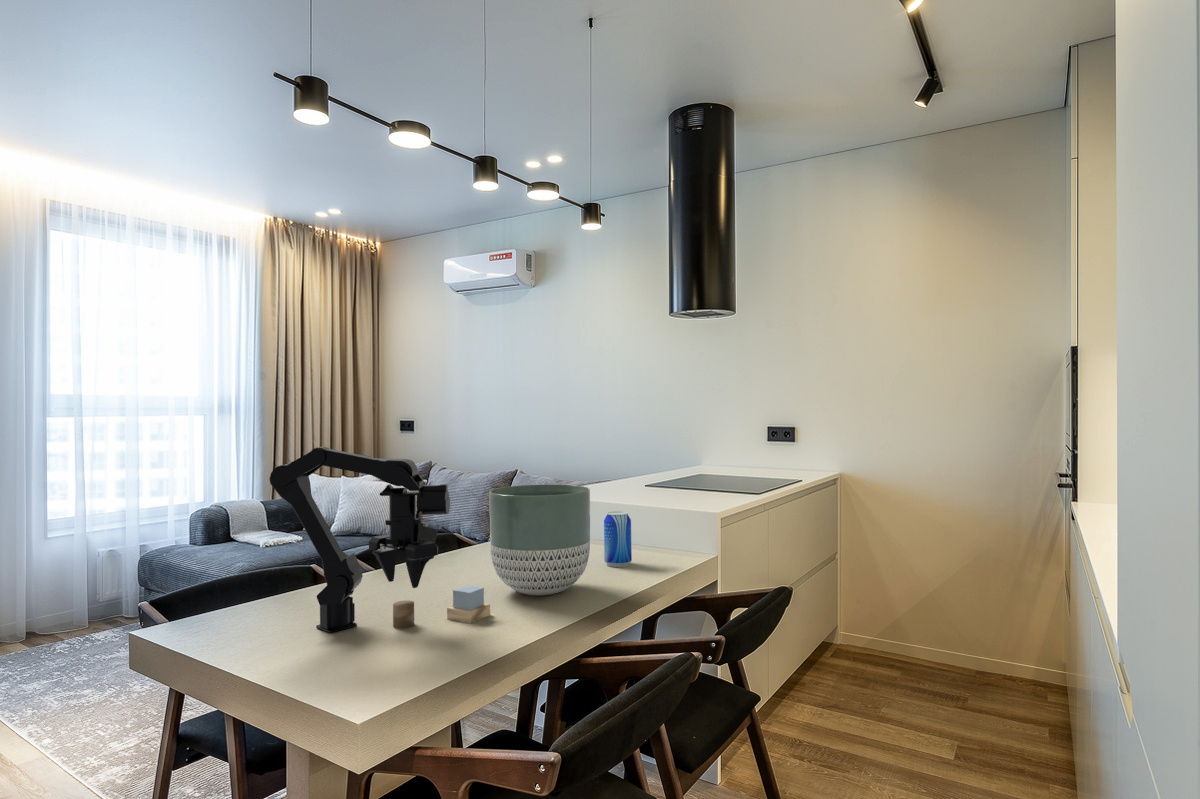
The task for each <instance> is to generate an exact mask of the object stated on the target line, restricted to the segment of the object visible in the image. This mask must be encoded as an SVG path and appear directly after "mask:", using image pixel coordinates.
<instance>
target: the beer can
mask: <svg viewBox="0 0 1200 799" xmlns="http://www.w3.org/2000/svg"><path fill="white" fill-rule="evenodd" d="M631 519H632V518H630V516H629V512H627V511H621V510H620V511H618V510H617V511H609V512H606V516H605V517H604V520H603V539H604V540H603V542H604V543H603V547H604V548H603V549H604V551H603V552H604V555H603V556H604V558H603V559H604V562H605V563H606V566H608V567H611V568H625V567H628V566H630V563H631V562H632V558H633V557H632V555H633V554H632V520H631Z"/></svg>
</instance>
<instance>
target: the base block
mask: <svg viewBox="0 0 1200 799" xmlns="http://www.w3.org/2000/svg"><path fill="white" fill-rule="evenodd" d="M488 616H489V617H490V616H491V603H486V602H484V605H482V606H480V607H477V608H475V609H472V610H465V609H459V608H453V605H451V606H449V607H446V619H447V620H448V621H449V620H450V621H456V622H462V623H466V622H467V624H472V622H473V623H475V622H477V621H480V620H482V619H485V618H486V617H488ZM479 619H480V620H479Z"/></svg>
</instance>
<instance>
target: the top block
mask: <svg viewBox="0 0 1200 799" xmlns="http://www.w3.org/2000/svg"><path fill="white" fill-rule="evenodd" d="M484 591H485V588H484V587H482V586H475V585H467V584H466V585H464V586H461V587H458V588H456V589H453V590H452V606H453V608H459V609H465V610H472V609H475V608H477V607H480V606H482V605H484V603H485V592H484Z"/></svg>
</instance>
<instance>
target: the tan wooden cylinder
mask: <svg viewBox="0 0 1200 799" xmlns="http://www.w3.org/2000/svg"><path fill="white" fill-rule="evenodd" d="M392 623H393V624H392V626H393V627H392V628H394V629H397V630H398V629H399V630H402V629H409V628H412V627H414V626H415V601H413V600H409V599H408V600H407V599H406V600H399V601H395V602H393V604H392Z"/></svg>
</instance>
